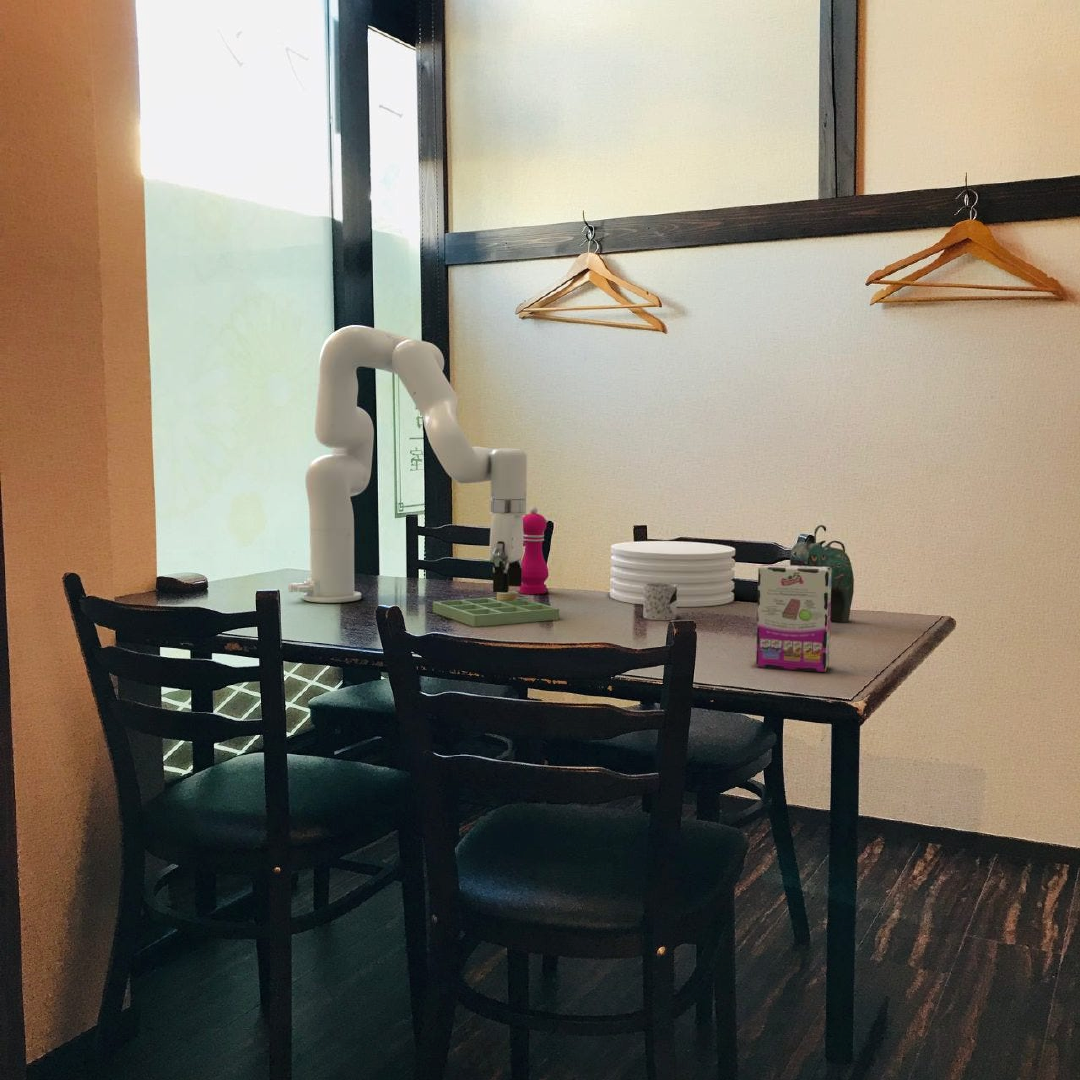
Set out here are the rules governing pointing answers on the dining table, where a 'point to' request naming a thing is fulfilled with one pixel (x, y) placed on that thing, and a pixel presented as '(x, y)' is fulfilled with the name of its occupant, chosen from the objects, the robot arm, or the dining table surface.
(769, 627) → the candy bar box
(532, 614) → the grid
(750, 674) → the dining table surface
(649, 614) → the mug
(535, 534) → the pepper mill
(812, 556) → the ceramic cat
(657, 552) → the plate stack
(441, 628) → the dining table surface
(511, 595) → the token
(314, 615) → the dining table surface
